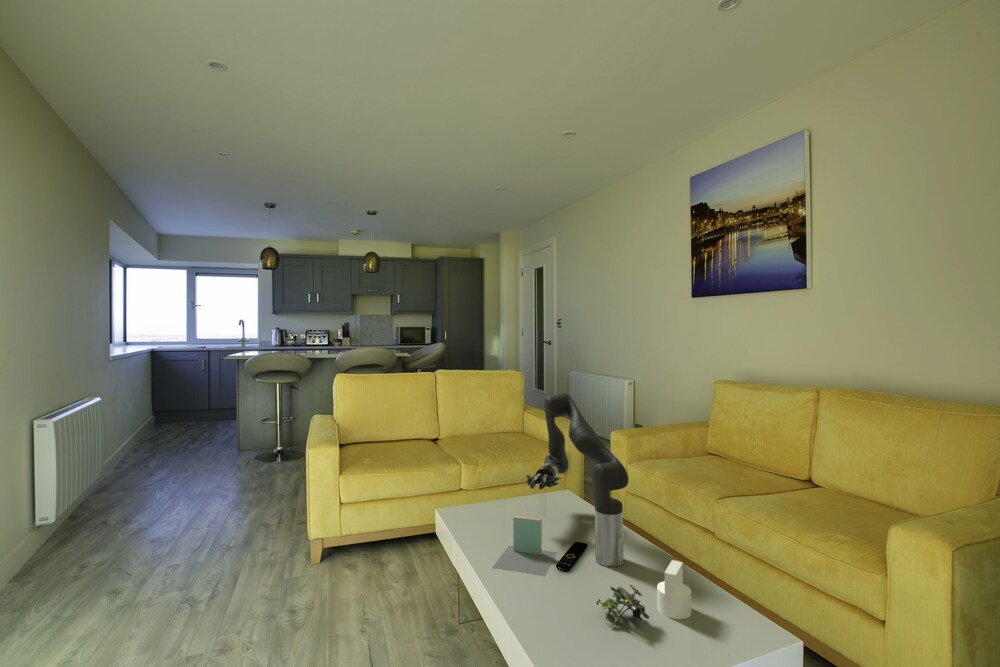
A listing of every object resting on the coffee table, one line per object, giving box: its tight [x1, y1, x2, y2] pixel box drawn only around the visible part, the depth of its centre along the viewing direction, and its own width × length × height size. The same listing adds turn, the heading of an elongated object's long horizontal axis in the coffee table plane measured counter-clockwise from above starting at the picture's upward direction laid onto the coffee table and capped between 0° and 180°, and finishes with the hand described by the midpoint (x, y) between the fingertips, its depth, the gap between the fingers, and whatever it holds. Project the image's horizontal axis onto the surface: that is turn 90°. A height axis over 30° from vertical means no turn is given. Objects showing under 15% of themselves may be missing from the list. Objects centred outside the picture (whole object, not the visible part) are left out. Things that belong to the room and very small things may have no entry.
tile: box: [512, 515, 543, 555], centre depth 178 cm, size 10×2×12 cm, turn 71°
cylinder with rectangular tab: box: [656, 559, 692, 620], centre depth 141 cm, size 9×9×12 cm
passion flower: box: [596, 584, 650, 626], centre depth 136 cm, size 11×11×12 cm
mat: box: [491, 545, 558, 577], centre depth 172 cm, size 18×18×1 cm
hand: (536, 486), depth 189 cm, fingers open, 2 cm apart
